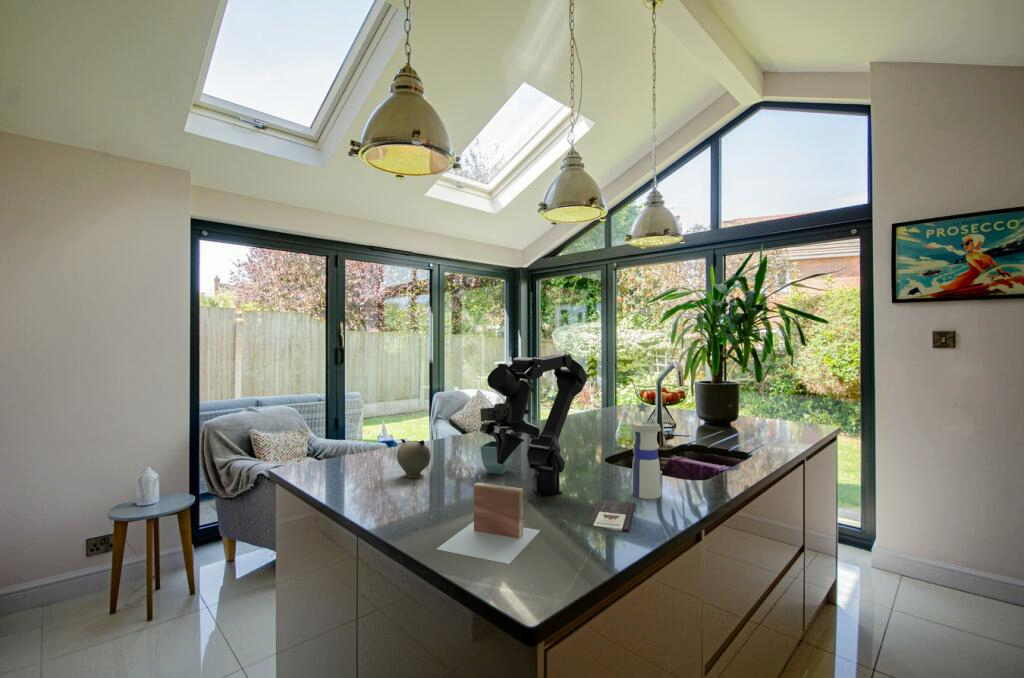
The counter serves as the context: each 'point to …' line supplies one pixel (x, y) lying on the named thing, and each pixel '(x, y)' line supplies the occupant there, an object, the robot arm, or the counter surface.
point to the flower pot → (494, 459)
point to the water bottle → (646, 459)
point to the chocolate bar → (612, 515)
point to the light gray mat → (488, 544)
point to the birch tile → (498, 510)
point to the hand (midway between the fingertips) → (499, 464)
